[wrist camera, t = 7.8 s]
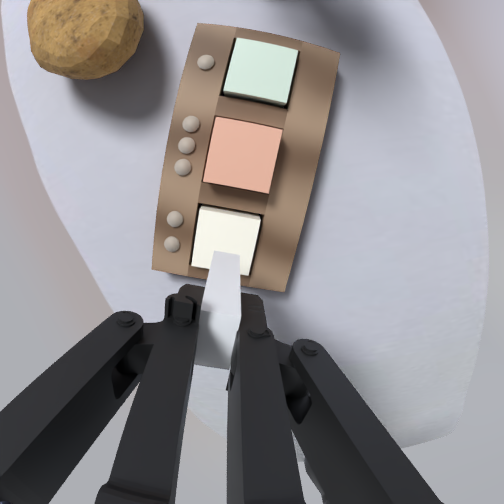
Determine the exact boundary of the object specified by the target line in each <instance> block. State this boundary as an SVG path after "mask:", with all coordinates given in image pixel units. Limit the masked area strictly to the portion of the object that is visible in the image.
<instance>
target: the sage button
mask: <svg viewBox="0 0 504 504" xmlns="http://www.w3.org/2000/svg"><path fill="white" fill-rule="evenodd" d="M297 53H298V50H295V49H291V48H287V47H283V46H278V45H274V44H269V43H265V42H260V41H254V40H249V39H243V38H237V40H236V43H235V47H234V51H233V54H232V58H231V62H230V66H229V70H228V74H227V78H226V82H225V86H224V90H223V91H224V95H225V97H230V98H236V99H241V100H247V101H252V102H257V103H261V104H266V105H271V106H275V107H279V108H282V107H283V106H284V105H285V104H286V103H287V99H288V95H289V90H290V85H291V81H292V76H293V72H294V67H295V63H296V58H297Z"/></svg>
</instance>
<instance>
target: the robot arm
mask: <svg viewBox="0 0 504 504" xmlns="http://www.w3.org/2000/svg"><path fill="white" fill-rule="evenodd" d="M264 312H265V311H264V305H263V301H262V300H261V298H260V297H259V296H258V295H253V294H247V293H241V291H240V255H237V254H231V253H226V252H220V251H214V253H213V257H212V261H211V265H210V269H209V274H208V278H207V282H206V287H201V286H196V285H190V284H185V285H184V286H182V287H181V288H180V289H179V292H178V293H176V294H172V295H169V296H168V297H167V298H166V300H165V316H164V320H163V321H161V322H157V323H143V319H142V317H141V316H140V315H138V314H137V313H134V312H131V311H120V312H116V313H114V314H112V315H111V316H110V317H109V318H107V319H106V320H105V321H103V322H102V323H101V324H100V325H99V326H97V327H96V328H95V329H94V330H92V332H90V333H89V334H88V335H86V336H85V337H84V338H83V339H82V340H80V341H79V342H78V343H77V344H76V345H75V346H73V347H72V348H71V349H70V350H69V351H68V352H66V353H65V354H64V355H63V356H62V357H61V358H59V359H58V360H57V361H56V362H55V363H54V364H52V365H51V366H50V367H49V368H48V369H47V370H45V371H44V372H43V373H42V374H41V375H40V376H39V377H38V378H36V379H35V380H34V381H33V382H32V383H31V384H30V385H29V386H28V387H26V388H25V389H24V390H23V391H22V392H21V393H20V394H19V395H18V396H17V397H16V398H14V399H13V400H12V401H11V402H10V403H9V404H8V405H7V406H6V407H5V408H4V409H3V410H2V411H1V412H0V504H49V502H50V501H51V499H52V498H53V497H54V495H55V494H56V493H57V491H58V490H59V488H60V487H61V486H62V484H63V483H64V482H65V480H66V479H67V478H68V476H69V475H70V474H71V472H72V471H73V470H74V468H75V467H76V465H77V464H78V463H79V461H80V460H81V459H82V457H83V456H84V455H85V453H86V452H87V451H88V449H89V448H90V447H91V445H92V444H93V443H94V441H95V440H96V438H97V437H98V436H99V435H100V433H101V432H102V431H103V429H104V428H105V427H106V425H107V424H108V423H109V421H110V420H111V419H112V418H113V416H114V415H115V414H116V412H117V411H118V409H119V408H120V407H121V406H122V404H123V403H124V402H125V400H126V399H127V398H128V396H129V395H130V394H131V392H132V391H133V390H134V389H135V387H136V386H137V385H138V383H139V382H140V383H139V386H138V389H137V392H136V395H135V398H134V401H133V403H132V406H131V410H130V413H129V415H128V418H127V421H126V424H125V428H124V431H123V434H122V437H121V440H120V444H119V447H118V450H117V454H116V457H115V460H114V464H113V467H112V471H111V475H110V478H109V481H108V482H107V483H106V484H104V485H102V487H101V488H100V490H99V492H98V494H97V497H96V501H95V504H175V497H176V488H177V478H178V471H179V463H180V455H181V447H182V440H183V433H184V426H185V418H186V413H187V406H188V400H189V393H190V387H191V381H192V375H193V367H194V364H195V365H201V366H207V367H214V368H220V369H227V370H229V369H230V364H231V370H230V374H229V378H228V383H227V387H226V390H227V391H228V421H227V504H306V503H305V501H304V497H303V492H302V486H301V480H300V475H299V470H298V464H297V458H296V453H295V447H294V442H293V436H292V431H293V433H294V435H295V437H296V439H297V441H298V443H299V445H300V447H301V449H302V451H303V453H304V455H305V457H306V458H305V461H304V463H305V468H306V472H307V474H308V475H309V477H310V479H311V480H312V481H313V483H314V484H315V486H316V487H317V489H318V490H319V492H320V493H321V495H322V500H323V504H444V503H442V502H441V501H440V500H439V499H438V497H437V496H436V495H435V493H434V492H433V491H432V489H431V488H430V487H429V486H428V484H427V483H426V482H425V480H424V479H423V478H422V476H421V475H420V474H419V472H418V471H417V470H416V468H415V467H414V466H413V464H412V463H411V462H410V460H409V459H408V458H407V457H406V455H405V454H404V453H403V451H402V450H401V449H400V447H399V446H398V445H397V443H396V442H395V441H394V439H393V438H392V437H391V435H390V434H389V433H388V432H387V430H386V429H385V428H384V426H383V425H382V424H381V422H380V421H379V420H378V418H377V417H376V416H375V414H374V413H373V412H372V410H371V409H370V408H369V407H368V405H367V404H366V403H365V401H364V400H363V399H362V397H361V396H360V395H359V393H358V392H357V391H356V389H355V388H354V387H353V385H352V384H351V383H350V381H349V380H348V379H347V378H346V376H345V375H344V374H343V372H342V371H341V370H340V368H339V367H338V366H337V364H336V363H335V362H334V360H333V359H332V358H331V356H330V355H329V354H328V353H327V351H326V350H325V349H324V347H323V346H321V345H320V344H319V343H317V342H315V341H313V340H309V339H300V340H297V341H295V342H294V344H293V346H290V345H287V344H284V343H281V342H279V341H277V340H275V339H274V335H273V333H272V331H271V330H270V329H269V328H267V323H266V317H265V313H264ZM291 429H292V431H291Z"/></svg>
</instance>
